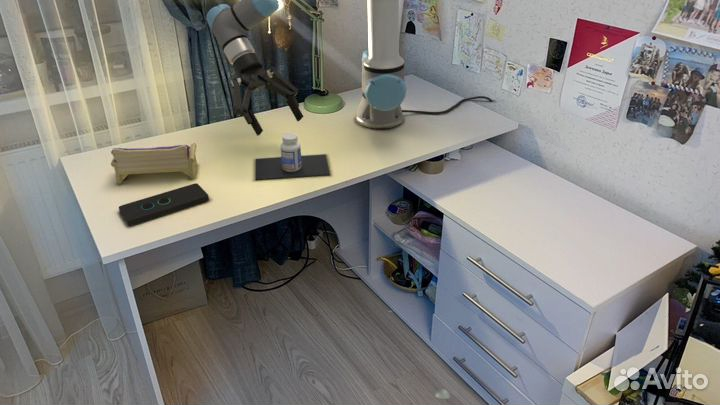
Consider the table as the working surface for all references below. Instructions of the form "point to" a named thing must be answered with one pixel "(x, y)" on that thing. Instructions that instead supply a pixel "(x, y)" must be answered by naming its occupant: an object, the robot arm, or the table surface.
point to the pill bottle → (290, 153)
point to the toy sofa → (154, 160)
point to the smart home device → (163, 204)
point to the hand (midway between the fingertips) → (280, 126)
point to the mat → (310, 167)
